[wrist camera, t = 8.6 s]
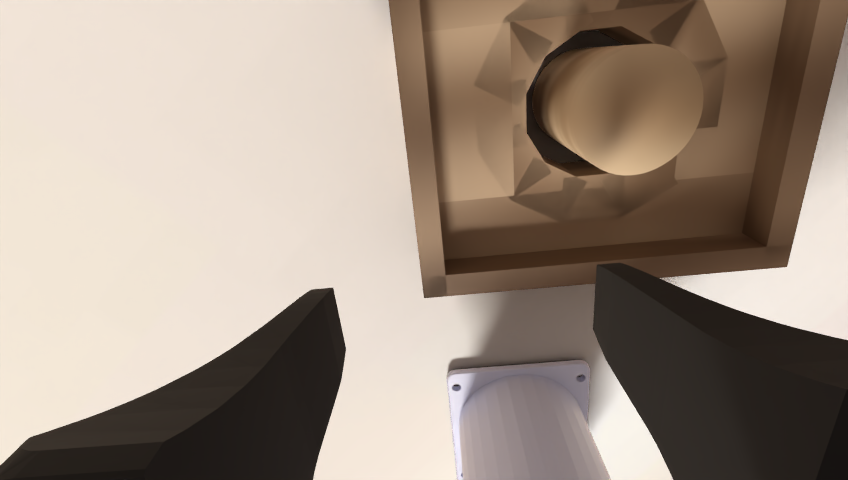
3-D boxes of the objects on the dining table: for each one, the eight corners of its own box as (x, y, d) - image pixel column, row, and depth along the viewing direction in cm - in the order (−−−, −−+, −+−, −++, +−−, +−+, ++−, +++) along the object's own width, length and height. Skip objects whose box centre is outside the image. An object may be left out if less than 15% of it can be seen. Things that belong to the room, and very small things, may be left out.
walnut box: (725, 231, 22) (786, 266, 18) (424, 258, 22) (424, 297, 19) (786, -117, 16) (892, -169, 12) (387, -66, 17) (376, -101, 13)
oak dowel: (619, 139, 20) (693, 169, 14) (532, 146, 20) (571, 180, 15) (627, 43, 18) (713, 37, 13) (532, 53, 19) (576, 50, 13)
